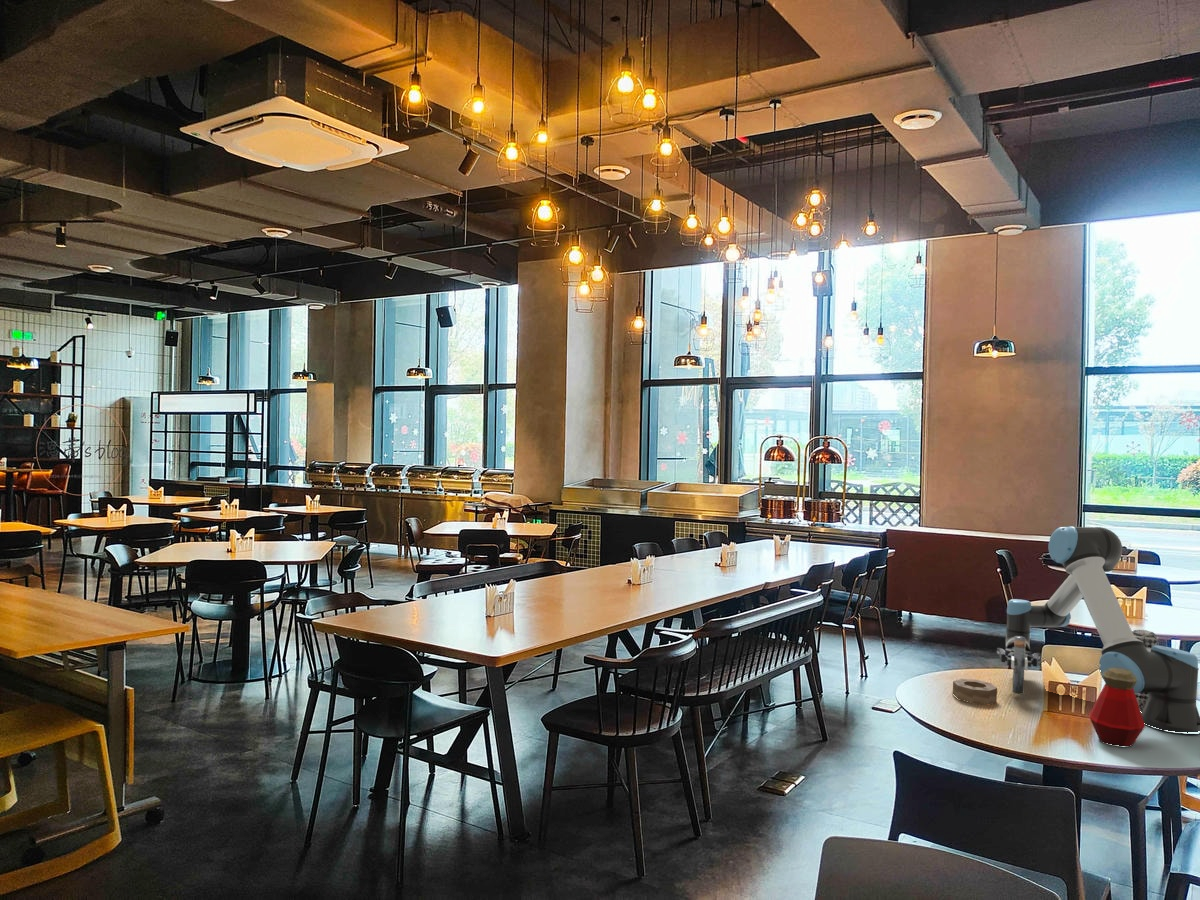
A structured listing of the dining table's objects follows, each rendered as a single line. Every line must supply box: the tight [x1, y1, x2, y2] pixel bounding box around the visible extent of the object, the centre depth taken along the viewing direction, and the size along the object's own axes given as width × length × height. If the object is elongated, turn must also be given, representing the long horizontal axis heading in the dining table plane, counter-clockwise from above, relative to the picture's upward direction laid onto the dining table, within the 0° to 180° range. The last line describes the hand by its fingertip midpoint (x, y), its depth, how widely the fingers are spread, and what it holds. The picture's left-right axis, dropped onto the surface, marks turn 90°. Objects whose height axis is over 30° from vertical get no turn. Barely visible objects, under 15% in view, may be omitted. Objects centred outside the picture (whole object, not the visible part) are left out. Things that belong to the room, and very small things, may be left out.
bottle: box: [1088, 668, 1146, 747], centre depth 234 cm, size 16×14×20 cm
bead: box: [952, 678, 998, 705], centre depth 270 cm, size 12×12×4 cm
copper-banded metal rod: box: [1012, 636, 1026, 695], centre depth 272 cm, size 3×3×18 cm
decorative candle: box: [1132, 629, 1159, 712], centre depth 264 cm, size 9×9×25 cm
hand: (1019, 665), depth 268 cm, fingers closed on copper-banded metal rod, 3 cm apart
